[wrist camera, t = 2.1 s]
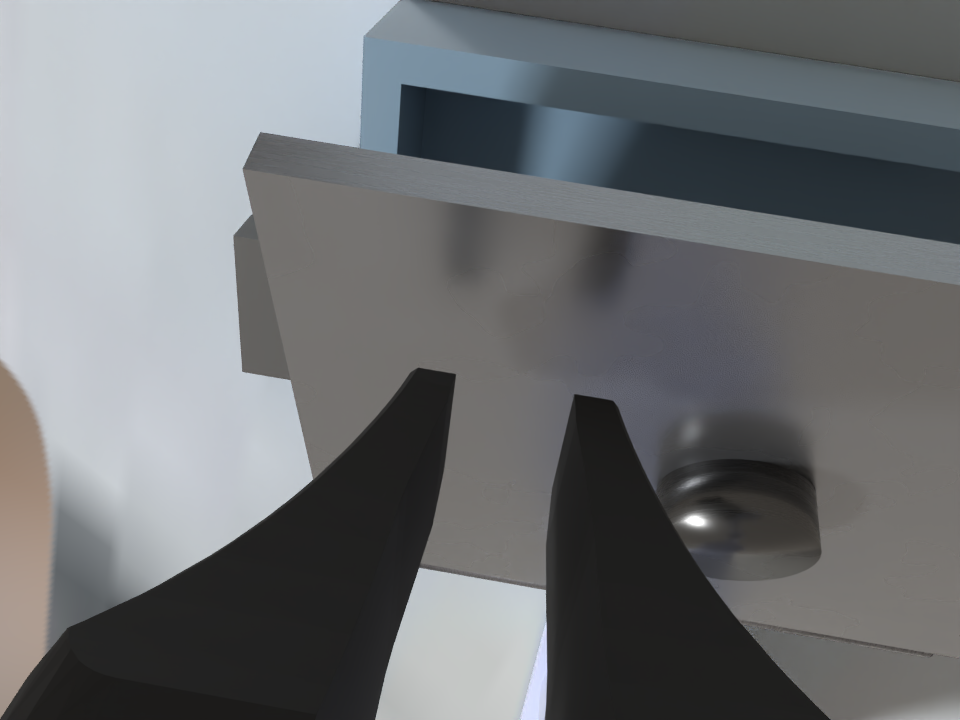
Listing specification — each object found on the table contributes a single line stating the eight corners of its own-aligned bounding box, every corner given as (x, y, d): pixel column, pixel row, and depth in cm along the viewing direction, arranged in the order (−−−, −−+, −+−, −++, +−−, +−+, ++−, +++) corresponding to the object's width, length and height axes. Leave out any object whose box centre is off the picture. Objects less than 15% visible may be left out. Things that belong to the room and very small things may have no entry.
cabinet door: (963, 640, 23) (976, 713, 22) (337, 530, 24) (319, 595, 23) (1564, 342, 11) (1662, 468, 10) (260, 132, 12) (213, 230, 11)
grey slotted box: (1004, 547, 26) (1061, 652, 23) (290, 424, 27) (249, 510, 24) (1305, 135, 18) (1458, 206, 15) (280, -23, 19) (214, 13, 16)
